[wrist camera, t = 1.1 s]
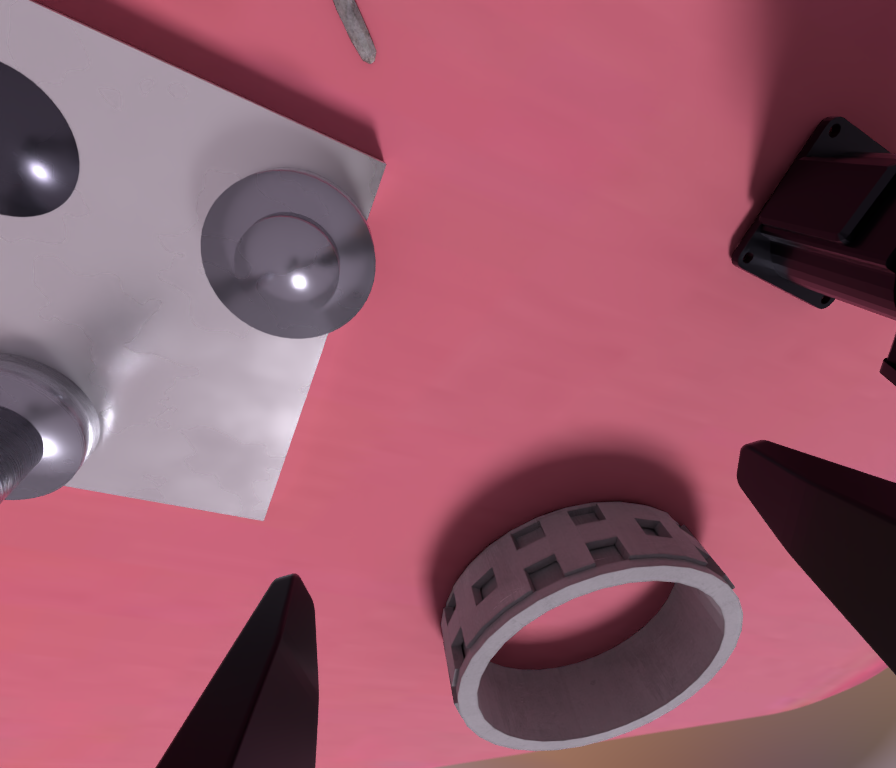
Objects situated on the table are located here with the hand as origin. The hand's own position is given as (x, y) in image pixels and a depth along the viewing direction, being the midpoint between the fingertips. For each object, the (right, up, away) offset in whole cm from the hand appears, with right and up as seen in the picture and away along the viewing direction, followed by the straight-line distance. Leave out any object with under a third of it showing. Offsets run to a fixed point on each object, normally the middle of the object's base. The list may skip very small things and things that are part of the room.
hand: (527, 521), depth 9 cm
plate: (-14, +6, +9) cm, 17 cm away
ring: (+7, -12, +23) cm, 27 cm away
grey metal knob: (-7, +8, +8) cm, 13 cm away
